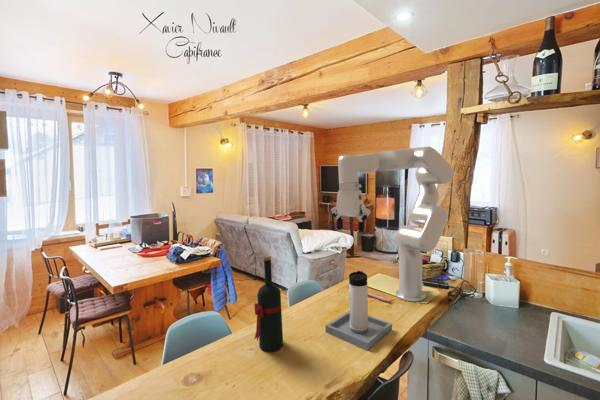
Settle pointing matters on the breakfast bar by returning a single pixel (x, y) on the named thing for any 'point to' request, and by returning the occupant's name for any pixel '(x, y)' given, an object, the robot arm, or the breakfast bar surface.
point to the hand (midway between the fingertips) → (350, 230)
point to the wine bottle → (269, 313)
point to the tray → (363, 340)
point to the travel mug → (358, 302)
